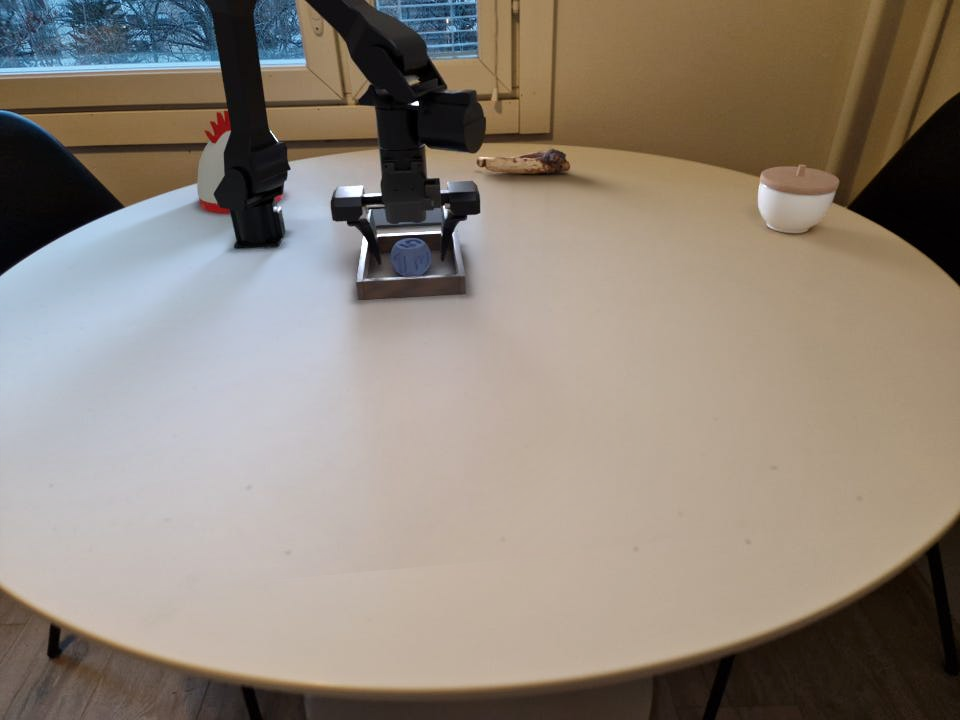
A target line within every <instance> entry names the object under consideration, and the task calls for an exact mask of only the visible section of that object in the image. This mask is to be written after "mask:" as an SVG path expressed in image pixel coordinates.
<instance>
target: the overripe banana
mask: <svg viewBox="0 0 960 720" xmlns="http://www.w3.org/2000/svg"><path fill="white" fill-rule="evenodd" d="M566 157H567V153H565V152H563V151H560V150H558V149H554V148H551V149H548V150H540V151H534V152H528V153H523V154H520V155H517V156H514V157H513V156H508V157H505V156H496V157H487V156H480V157H479V156H478V157H477V159H476V165H477V166H478V167H479V168H485V169H486V170H487V171H490V172H492V173H493V172H494V173H508V174H518V175H521V174H526V175H527V174H531V175H537V174H538V175H539V174H549V175H553V174H559V173H563V172H568V171H570V169H571V164H570V161H568V160H567V158H566Z"/></svg>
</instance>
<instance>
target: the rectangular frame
mask: <svg viewBox="0 0 960 720" xmlns="http://www.w3.org/2000/svg"><path fill="white" fill-rule="evenodd" d="M458 232H459V231H458V230H454V232H453V234H452V236H451V239H450V243H449V246H448V249H447V250H452V253H453V258H454V266H455V272H456V273H452V274H451V273H450V274H449V273H447V274H433V275H432V274H431V275H420V276H412V277H405V276H396V277H394V276H393V277H379V278H377V277H376V278H369V277H368V275H369V268H370V260H371V254H373V253H372V251H371V249H370V247H369V245H368V243H367V241H366V239H365V238H364V236H363V235H362V241H361V248H360V254H359V261H358V267H357V274H356V278H355V279H356V281H355V285H356V291H357V299H358V301H360V300H377V299H393V298H395V299H396V298H397V299H398V298H413V297H429V296H430V297H431V296H448V295H464V294H467V292H466V291H467V288H466V287H467V286H466V285H467V284H466V273H465V266H464V261H463V255H462V249H461V243H460V237H459V233H458ZM377 236H378V240H379V245H380V250H381V253H391V251H392V248H393V246H394V245H395V244H396V243H397V242H398V241H400V240H402V239H407V238H416V239H420V240H422V241H424V242H425V243H426V244H427V246H428V247H429V249H430V251H433V250H434V251H435V250H440V240H441V230H439V231H421V232H399V233H380V234H378V233H377Z"/></svg>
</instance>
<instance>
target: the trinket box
mask: <svg viewBox="0 0 960 720" xmlns="http://www.w3.org/2000/svg"><path fill="white" fill-rule="evenodd" d="M759 177H760V178H759V184H758V185H759V186H758V190H757V207H758V212H759V214H760V216H761V217H762V219H763V220H764V222H765V225H766V227H768V228H769V229H771V230H773V231H776V232H780V233H784V234H803V233H807V232H808V231H809V230H810V228H812V227H814V226H815V225H817V224H819V223H820V222H821V221H822V220H823V219H824V217H826V215H827V214H828V212H829V210H830V209H831V206H832V204H833V202H834V199H835V197H836V193H837V190H838V188H839V186H840V179H839V178H838V177H837V176H836V175H834V174H832V173H830V172H828V171H825V170H821V169H817V168H811V167H807V165H806V164H803V163H802V164H798V166H788V165H786V166H784V165H783V166H774V167H769V168H765V169H764V170H763V171H761V174H760V176H759Z"/></svg>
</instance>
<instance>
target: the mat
mask: <svg viewBox="0 0 960 720" xmlns="http://www.w3.org/2000/svg"><path fill="white" fill-rule="evenodd" d="M372 212H373V217H374V221H375V226H376V229H379V228H398V227H416V226H417V227H418V226H420V227H421V226H422V227H423V226H439V225H440V226H441V225H442V207H441V208H435V209H434V210H433V211H432V210H431V211H426V219H425V221H423V222H421V223H414V222H400V223H398V224H391V223H388V222H387V220H386V214H385V209H372Z"/></svg>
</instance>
